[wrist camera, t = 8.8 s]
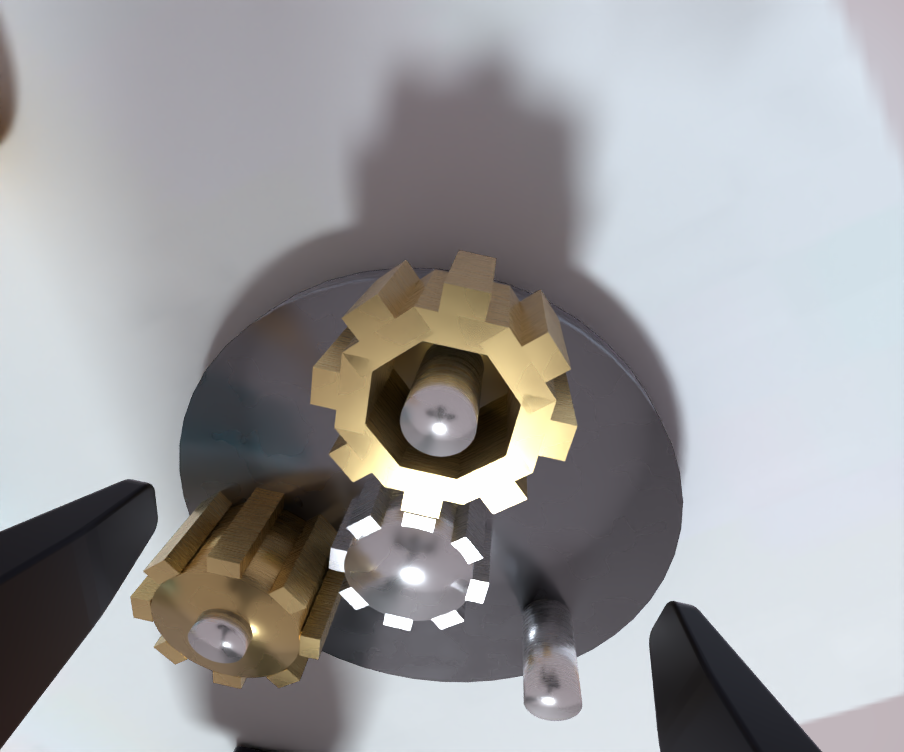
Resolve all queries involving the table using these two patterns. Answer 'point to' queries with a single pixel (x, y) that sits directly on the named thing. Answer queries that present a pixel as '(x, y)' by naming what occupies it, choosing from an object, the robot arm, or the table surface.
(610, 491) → the carrier
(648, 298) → the table surface
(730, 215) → the table surface
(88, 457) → the table surface
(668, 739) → the robot arm
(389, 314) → the planet gear
